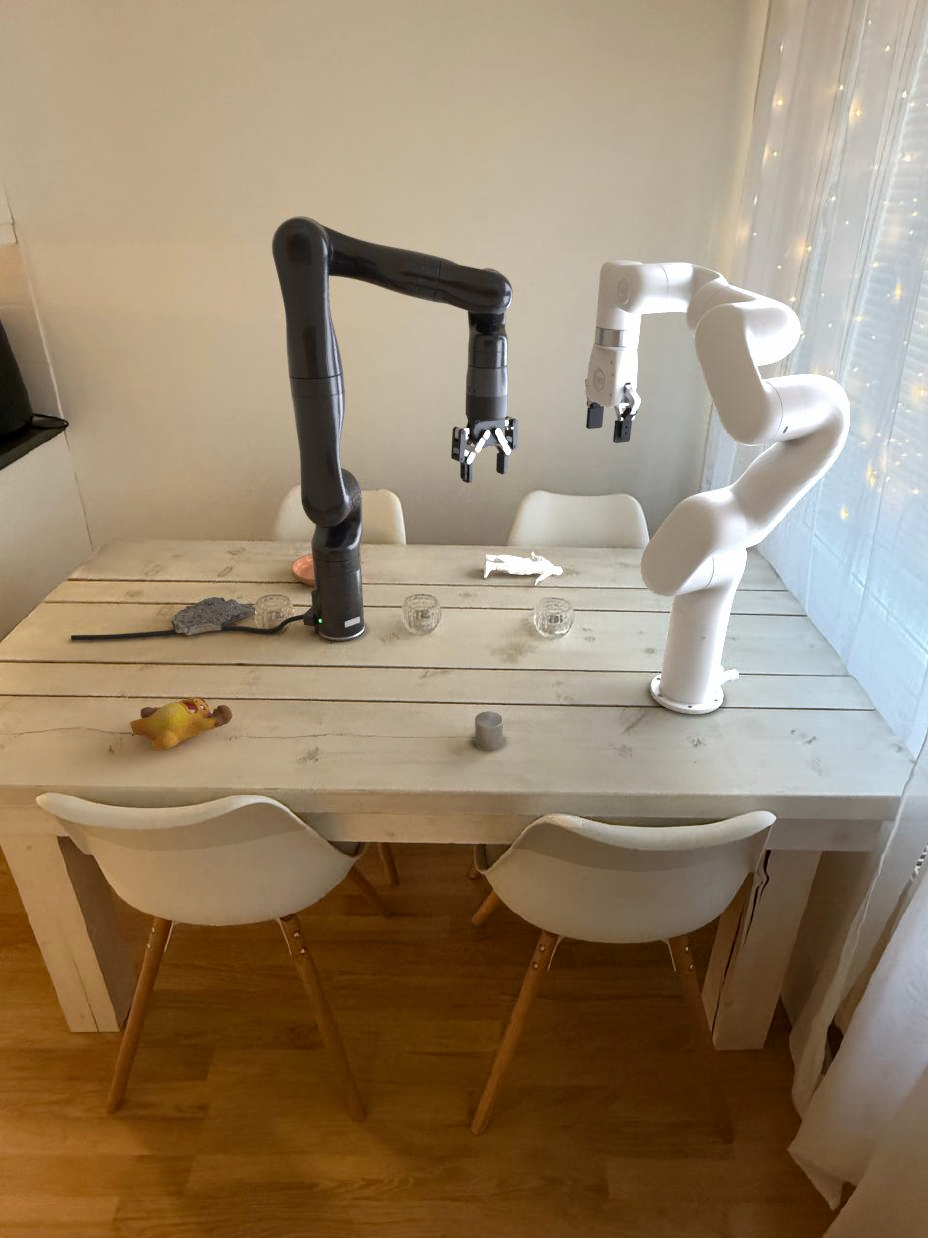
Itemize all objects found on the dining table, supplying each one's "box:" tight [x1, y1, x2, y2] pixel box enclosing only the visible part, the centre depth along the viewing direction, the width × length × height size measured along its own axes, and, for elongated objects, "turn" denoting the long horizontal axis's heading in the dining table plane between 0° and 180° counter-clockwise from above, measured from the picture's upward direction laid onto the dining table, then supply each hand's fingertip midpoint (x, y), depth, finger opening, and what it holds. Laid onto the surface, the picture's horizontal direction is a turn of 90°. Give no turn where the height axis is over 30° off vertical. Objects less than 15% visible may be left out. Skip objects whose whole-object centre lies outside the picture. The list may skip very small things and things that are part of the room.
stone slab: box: [170, 596, 256, 637], centre depth 168 cm, size 12×17×3 cm
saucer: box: [290, 552, 362, 588], centre depth 186 cm, size 16×16×3 cm
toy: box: [129, 697, 233, 751], centre depth 133 cm, size 11×6×15 cm
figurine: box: [483, 551, 563, 586], centre depth 188 cm, size 17×5×18 cm
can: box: [474, 711, 504, 751], centre depth 132 cm, size 4×4×4 cm
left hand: (484, 477), depth 154 cm, fingers open, 8 cm apart
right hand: (607, 434), depth 150 cm, fingers open, 9 cm apart
